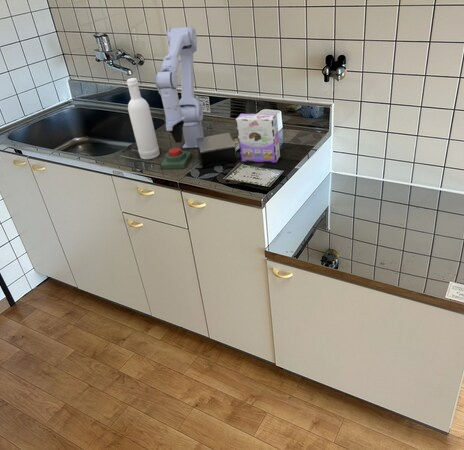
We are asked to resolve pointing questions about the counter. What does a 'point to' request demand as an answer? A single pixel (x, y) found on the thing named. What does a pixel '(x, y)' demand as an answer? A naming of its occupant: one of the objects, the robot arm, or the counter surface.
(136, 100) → the bottle
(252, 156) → the candy box
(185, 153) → the green base
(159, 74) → the robot arm
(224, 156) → the black boxy piece
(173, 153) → the timer button
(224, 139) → the canister lid
